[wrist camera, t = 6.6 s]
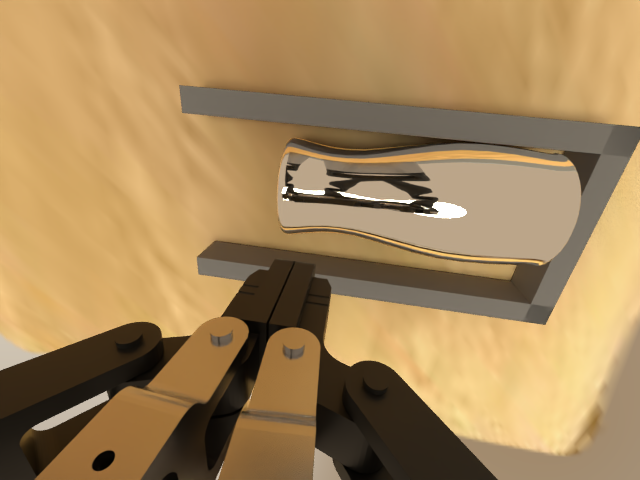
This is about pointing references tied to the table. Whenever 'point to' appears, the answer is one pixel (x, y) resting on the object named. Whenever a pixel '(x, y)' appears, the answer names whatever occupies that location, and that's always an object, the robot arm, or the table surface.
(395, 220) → the beer glass
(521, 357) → the table surface
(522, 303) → the u rest
